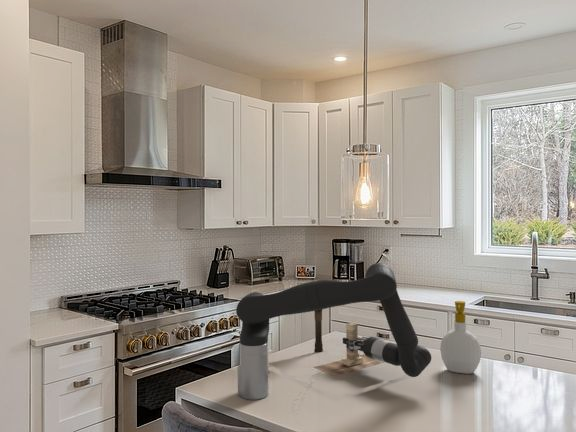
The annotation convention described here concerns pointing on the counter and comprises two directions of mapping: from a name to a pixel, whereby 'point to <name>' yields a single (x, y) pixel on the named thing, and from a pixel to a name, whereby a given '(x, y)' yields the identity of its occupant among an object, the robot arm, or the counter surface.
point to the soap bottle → (460, 345)
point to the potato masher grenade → (318, 331)
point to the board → (340, 368)
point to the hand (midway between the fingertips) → (346, 339)
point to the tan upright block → (354, 356)
